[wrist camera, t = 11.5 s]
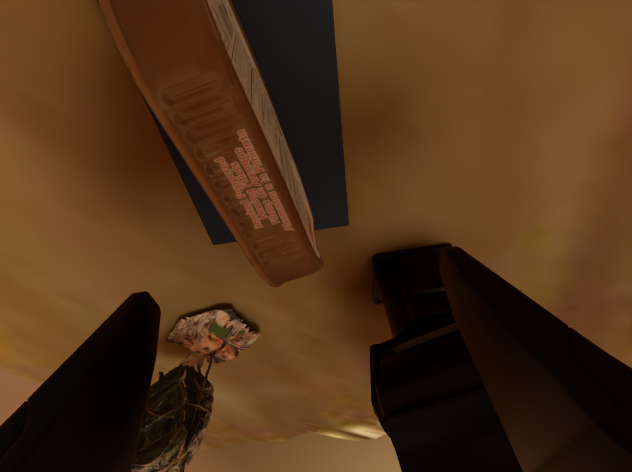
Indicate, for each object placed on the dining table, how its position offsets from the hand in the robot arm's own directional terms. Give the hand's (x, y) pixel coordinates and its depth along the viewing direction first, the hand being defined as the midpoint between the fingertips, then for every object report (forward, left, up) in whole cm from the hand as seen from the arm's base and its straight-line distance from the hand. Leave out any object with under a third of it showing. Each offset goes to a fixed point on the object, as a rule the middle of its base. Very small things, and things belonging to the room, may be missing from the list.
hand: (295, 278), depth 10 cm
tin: (+1, +2, -11) cm, 12 cm away
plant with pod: (-20, +12, -12) cm, 26 cm away
